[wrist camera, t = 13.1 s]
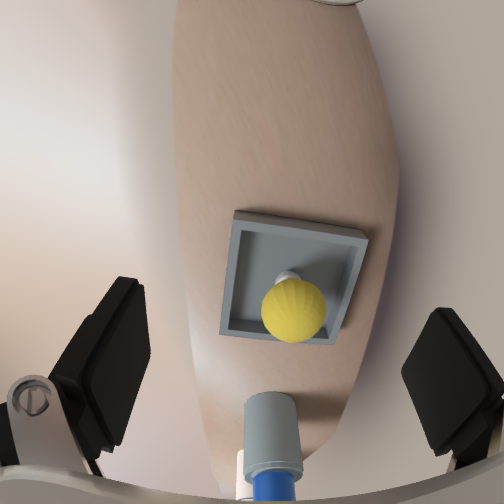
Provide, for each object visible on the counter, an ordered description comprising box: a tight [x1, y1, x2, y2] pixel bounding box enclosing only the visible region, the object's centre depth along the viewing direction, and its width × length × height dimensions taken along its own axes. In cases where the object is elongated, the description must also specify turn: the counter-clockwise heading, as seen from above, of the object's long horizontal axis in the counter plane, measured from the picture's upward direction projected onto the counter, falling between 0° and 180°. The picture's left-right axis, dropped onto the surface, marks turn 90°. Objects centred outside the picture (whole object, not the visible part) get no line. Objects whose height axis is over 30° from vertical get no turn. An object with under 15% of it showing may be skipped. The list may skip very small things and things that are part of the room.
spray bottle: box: [243, 392, 303, 501], centre depth 37 cm, size 9×9×25 cm
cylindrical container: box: [236, 449, 253, 501], centre depth 44 cm, size 7×7×25 cm
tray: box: [219, 210, 369, 345], centre depth 36 cm, size 15×15×4 cm
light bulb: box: [261, 271, 326, 343], centre depth 32 cm, size 7×7×10 cm
